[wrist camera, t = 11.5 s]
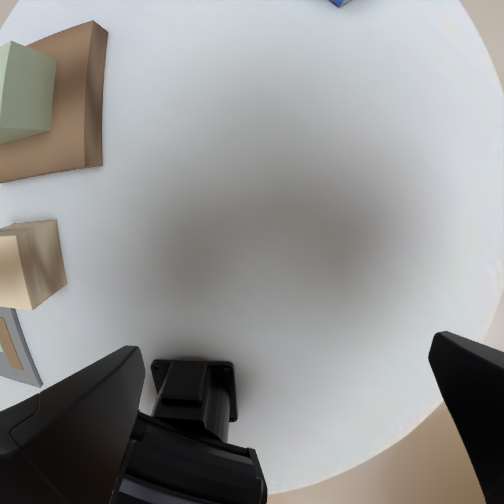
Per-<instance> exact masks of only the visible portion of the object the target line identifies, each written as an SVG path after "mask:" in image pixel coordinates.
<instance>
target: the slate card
mask: <svg viewBox="0 0 504 504" xmlns="http://www.w3.org/2000/svg"><path fill="white" fill-rule="evenodd" d="M0 376H3V377H6V378H9V379H12V380H15V381H19V382H22V383H25V384H29V385H32V386H36V387H39V388H41V387H42V385H43V383H42V381H41V379H40V376H39V374H38V372H37V369H36V367H35V365H34V362H33V360H32V357H31V355H30V352H29V350H28V347H27V344H26V342H25V339H24V336H23V333H22V330H21V327H20V324H19V321H18V318H17V315H16V312H15V308H7V307H0Z"/></svg>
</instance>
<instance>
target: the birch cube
mask: <svg viewBox="0 0 504 504" xmlns="http://www.w3.org/2000/svg"><path fill="white" fill-rule="evenodd" d="M66 284H67V279H66V274H65V269H64V264H63V258H62V252H61V246H60V240H59V233H58V226H57V220H47V221H37V222H27V223H18V224H12V225H10V226H7V227H4V228H1V229H0V307H7V308H15V309H23V310H32V311H33V310H34V309H35V308H36V307H38V306H39V305H40V304H41V303H43V302H44V301H45V300H46V299H48V298H49V297H50V296H52V295H53V294H54V293H55V292H57V291H58V290H59V289H61V288H62V287H63V286H65V285H66Z"/></svg>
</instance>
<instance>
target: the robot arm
mask: <svg viewBox="0 0 504 504" xmlns="http://www.w3.org/2000/svg"><path fill="white" fill-rule="evenodd" d="M428 359H429V363H430V366H431V368H432V371H433V373H434V376H435V378H436V381H437V384H438V387H439V389H440V392H441V395H442V397H443V399H444V402H445V404H446V406H447V408H448V410H449V412H450V414H451V416H452V418H453V421H454V423H455V425H456V427H457V430H458V432H459V434H460V436H461V439H462V441H463V443H464V446H465V448H466V450H467V453H468V455H469V458H470V460H471V463H472V465H473V468H474V470H475V473H476V476H477V478H478V481H479V484H480V486H481V489H482V492H483V494H484V497H485V501H486V504H504V352H502V351H499V350H496V349H494V348H491V347H488V346H486V345H483V344H480V343H478V342H475V341H472V340H470V339H467V338H464V337H461V336H459V335H456V334H453V333H451V332H448V331H443V332H437V333H436V334H435V335H434V337H433V341H432V344H431V348H430V351H429V356H428ZM155 365H157V366H159V367H156V366H155ZM225 368H229V369H230V370H226V369H225ZM151 371H152V375H153V379H154V382H155V386H156V390H157V394H158V396H157V399H156V402H155V404H154V407H153V410H152V413H151V416H149V415H147V414H144V413H142V412H140V410H138V407H139V402H140V397H141V392H142V388H143V383H144V379H145V367H144V363H143V359H142V355H141V351H140V348H139V347H138V346H128V345H126V346H124V347H122V348H120V349H118V350H116V351H115V352H113V353H111V354H109V355H107V356H106V357H104V358H102V359H100V360H98V361H97V362H95V363H93V364H91V365H89V366H87V367H86V368H84V369H82V370H80V371H78V372H76V373H75V374H73V375H71V376H69V377H67V378H65V379H64V380H62V381H60V382H58V383H56V384H54V385H53V386H51V387H49V388H47V389H45V390H43V391H41V392H40V394H39V393H37V394H36V395H34V396H32V397H30V398H28V399H26V400H24V401H22V402H20V403H18V404H16V405H14V406H12V407H9V408H7V409H5V410H3V411H0V504H266V503H267V485H266V482H265V479H264V476H263V473H262V470H261V467H260V463H259V460H258V457H257V454H256V451H255V449H252V448H243V447H239V446H235V445H232V444H228V443H227V440H228V427H229V422H235V421H237V417H238V414H237V401H236V388H235V373H234V366H233V364H231V363H229V362H199V361H167V360H154V361H153V362H152V364H151ZM112 492H113V494H112ZM111 496H112V497H111ZM110 499H111V500H110ZM109 502H110V503H109Z"/></svg>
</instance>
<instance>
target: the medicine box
mask: <svg viewBox="0 0 504 504" xmlns="http://www.w3.org/2000/svg"><path fill="white" fill-rule="evenodd" d="M331 1H332V2H334V3H335V4H336V5H337V6H339V7H341V6H342V5H344V4H346V3H347V2H349V1H351V0H331Z"/></svg>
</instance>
